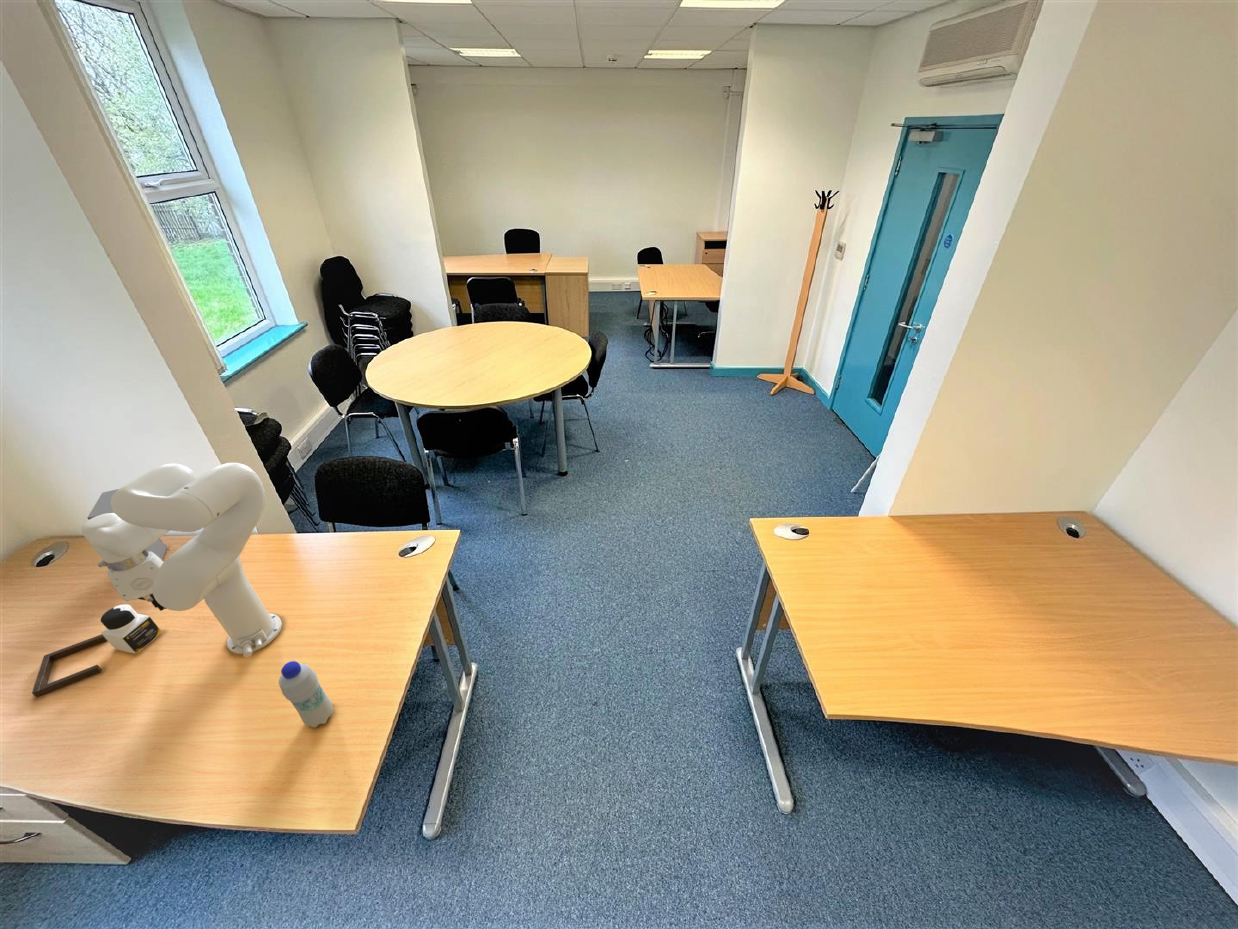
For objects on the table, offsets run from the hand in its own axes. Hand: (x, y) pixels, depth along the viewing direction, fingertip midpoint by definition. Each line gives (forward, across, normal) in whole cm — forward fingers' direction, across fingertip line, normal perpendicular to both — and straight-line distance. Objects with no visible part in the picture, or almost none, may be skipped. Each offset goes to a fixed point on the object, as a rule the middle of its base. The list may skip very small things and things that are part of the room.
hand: (164, 606), depth 131 cm
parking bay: (+8, -21, 0) cm, 23 cm away
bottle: (+7, +28, -52) cm, 60 cm away
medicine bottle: (+8, -8, 0) cm, 12 cm away
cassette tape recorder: (+9, -8, +36) cm, 38 cm away
